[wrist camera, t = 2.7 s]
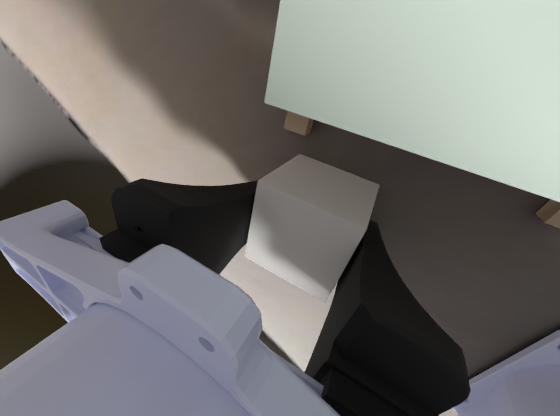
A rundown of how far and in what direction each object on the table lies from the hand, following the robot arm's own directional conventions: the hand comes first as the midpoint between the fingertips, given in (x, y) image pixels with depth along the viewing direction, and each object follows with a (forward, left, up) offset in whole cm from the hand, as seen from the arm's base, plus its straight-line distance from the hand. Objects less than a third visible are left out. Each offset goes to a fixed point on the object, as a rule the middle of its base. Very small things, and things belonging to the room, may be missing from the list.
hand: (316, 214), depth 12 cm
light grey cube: (0, 0, -2) cm, 2 cm away
